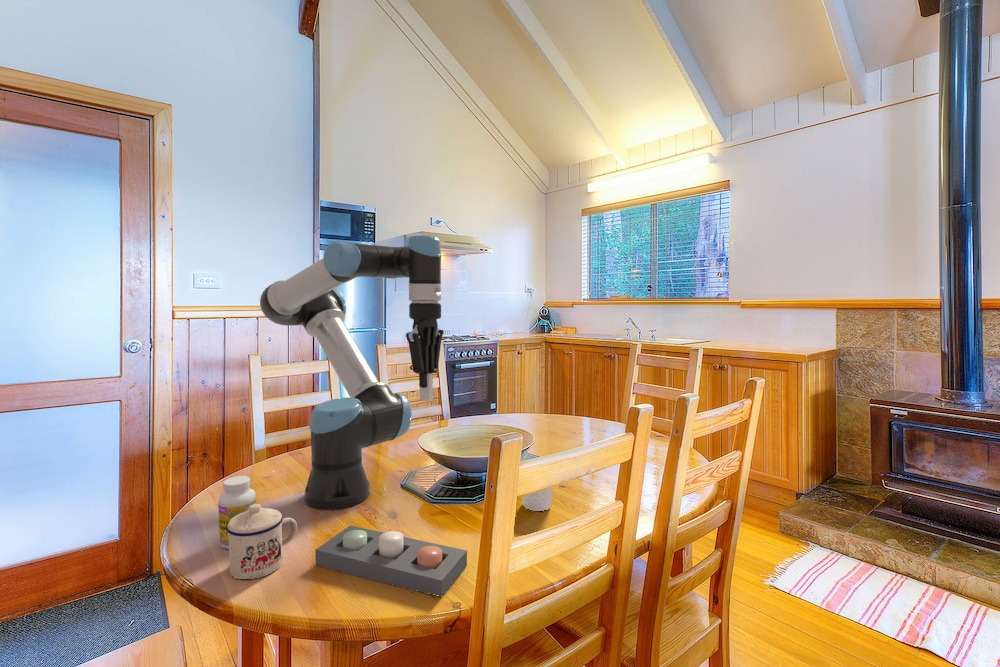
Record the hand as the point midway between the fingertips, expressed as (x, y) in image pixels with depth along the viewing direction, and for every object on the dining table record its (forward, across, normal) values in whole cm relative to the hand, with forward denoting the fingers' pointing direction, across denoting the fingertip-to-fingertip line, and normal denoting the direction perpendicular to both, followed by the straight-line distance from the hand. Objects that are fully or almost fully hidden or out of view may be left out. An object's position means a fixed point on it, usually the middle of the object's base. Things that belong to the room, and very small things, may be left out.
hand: (426, 400), depth 117 cm
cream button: (+22, -28, -10) cm, 37 cm away
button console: (+24, -28, -10) cm, 39 cm away
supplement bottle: (+24, -34, +22) cm, 48 cm away
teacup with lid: (+25, -37, +11) cm, 46 cm away
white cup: (+25, +7, -26) cm, 37 cm away
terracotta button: (+24, -28, -18) cm, 41 cm away
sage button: (+24, -29, -2) cm, 37 cm away
